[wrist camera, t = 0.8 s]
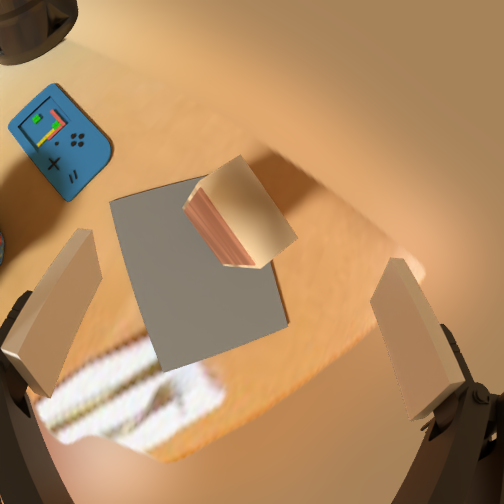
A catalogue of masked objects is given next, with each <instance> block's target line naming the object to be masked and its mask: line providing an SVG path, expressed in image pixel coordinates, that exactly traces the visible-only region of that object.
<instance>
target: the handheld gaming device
mask: <svg viewBox="0 0 504 504" xmlns="http://www.w3.org/2000/svg"><path fill="white" fill-rule="evenodd" d="M8 129H9V131H10V132H11V133H12V135H13V136H14V137H15V139H16V140H17V141H18V143H19V144H20V145H21V147H22V148H23V149H24V151H25V152H26V153H27V154H28V156H29V157H30V158H31V160H32V161H33V162H34V163H35V165H36V166H37V167H38V168H39V170H40V171H41V172H42V173H43V174H44V176H45V177H46V178H47V179H48V180H49V182H50V183H51V184H52V185H53V186H54V188H55V189H56V190H57V191H58V192H59V193H60V195H61V196H62V197H63V198H64V199H65V200H66V201H68V202H69V201H71V200H73V198H74V197H75V196H76V195H77V194H78V193H79V192H80V191H81V190H82V189H83V188H84V187H85V186H86V185H87V184H88V183H89V182H90V181H91V180H92V179H93V178H94V177H95V176H96V175H97V174H98V173H99V172H100V171H101V170H102V169H103V168H104V167H105V166H106V165H107V163H108V161H109V159H110V157H111V146H110V143H109V141H108V140H107V138H106V137H105V136H104V135H103V134H102V133H101V132H100V131H99V130H98V129H97V128H96V127H95V126H94V125H93V124H92V123H91V122H90V121H89V120H88V118H87V117H86V116H85V115H84V114H83V113H82V112H81V111H80V110H79V109H78V108H77V107H76V106H75V105H74V104H73V103H72V102H71V100H70V99H69V98H68V97H67V96H66V95H65V94H64V93H63V92H62V91H61V90H60V89H59V88H58V87H57V85H56V84H50V85H49V86H47V87H46V88H45V89H44V90H43V91H42V92H41V93H39V94H38V95H37V96H36V97H35V98H34V99H33V100H32V101H31V102H30V103H29V104H27V105H26V106H25V107H24V108H23V109H22V110H21V111H20V112H19V113H18V114H17V115H16V116H15V117H14V118H13V119H12V120H11V121H10V123H9V125H8Z"/></svg>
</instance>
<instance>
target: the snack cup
mask: <svg viewBox="0 0 504 504" xmlns="http://www.w3.org/2000/svg"><path fill="white" fill-rule="evenodd" d="M4 246H5V245H4V239H3V236H2V233H1V231H0V265H1V263H2V259H3V253H4Z"/></svg>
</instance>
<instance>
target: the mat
mask: <svg viewBox="0 0 504 504" xmlns="http://www.w3.org/2000/svg"><path fill="white" fill-rule="evenodd" d="M204 177H206V176H204ZM204 177H200V178H195V179H191V180H187V181H183V182H179V183H175V184H171V185H168V186H164V187H160V188H156V189H153V190H149V191H145V192H142V193H138V194H135V195H131V196H128V197H124V198H121V199H118V200H114V201H111V202H109V203H110V207H111V212H112V216H113V220H114V224H115V228H116V232H117V236H118V240H119V243H120V247H121V251H122V254H123V258H124V261H125V265H126V268H127V271H128V275H129V278H130V281H131V284H132V288H133V291H134V294H135V297H136V300H137V303H138V306H139V309H140V312H141V315H142V317H143V320H144V323H145V326H146V329H147V331H148V334H149V337H150V339H151V342H152V345H153V347H154V350H155V352H156V355H157V358H158V360H159V363H160V365H161V367H162V370H163V372H167V371H171V370H174V369H177V368H180V367H183V366H186V365H189V364H191V363H194V362H197V361H200V360H203V359H206V358H209V357H211V356H214V355H217V354H220V353H222V352H225V351H228V350H231V349H233V348H236V347H238V346H241V345H244V344H246V343H249V342H251V341H254V340H257V339H259V338H262V337H264V336H267V335H269V334H272V333H274V332H276V331H279V330H281V329H284V328H286V327H288V324H287V320H286V317H285V313H284V310H283V306H282V302H281V299H280V295H279V292H278V288H277V284H276V281H275V277H274V274H273V270H272V267H271V263H270V262H268V263H267V264H266V265H265V266H263V267H262V268H261V269H259V268H244V267H230V266H223V264H221V263H220V262H219V260H218V259H217V257H216V256H215V255H214V253H213V252H212V251H211V249H210V248H209V246H208V245H207V244H206V242H205V241H204V240H203V238H202V237H201V235H200V234H199V233H198V231H197V230H196V228H195V227H194V226H193V224H192V223H191V221H190V220H189V219H188V217H187V216H186V214H185V213H184V212H183V211H184V210H183V209H182V207H183V206H184V204H185V202H186V201H187V199H188V198H189V196H190V194H191V193H192V191H193V189H194V188H195V186H196V185H197V183H198V182H199V181H200V180H201V179H203V178H204Z"/></svg>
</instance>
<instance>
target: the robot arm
mask: <svg viewBox="0 0 504 504" xmlns="http://www.w3.org/2000/svg"><path fill="white" fill-rule="evenodd" d="M77 17H78V6H77V1H76V0H0V64H2V65H17V64H21V63H24V62H27V61H30V60H32V59H34V58H37V57H38V56H40V55H42V54H44V53H45V52H47V51H48V50H50V49H51V48H53V47H54V46H55V45H57V44H58V43H59V42H60V41H61V40H62V39H63V38H64V37H65V36H66V35H67V34H68V33H69V31H70V30H71V29H72V27H73V26H74V24H75V22H76V20H77ZM101 280H102V274H101V270H100V266H99V261H98V257H97V252H96V247H95V242H94V237H93V232H92V230H88V229H77V230H76V231H75V233H74V234H73V235H72V237H71V238H70V239H69V241H68V242H67V243H66V245H65V246H64V247H63V249H62V250H61V251H60V253H59V254H58V255H57V257H56V258H55V260H54V261H53V263H52V264H51V265H50V267H49V268H48V270H47V271H46V273H45V274H44V276H43V277H42V279H41V280H40V282H39V283H38V285H37V286H36V288H35V289H34V291H28V290H27V291H26V292H25V293H24V294H23V295H21V296H20V297H19V298H18V299H17V301H16V303H15V304H14V306H13V307H12V311H10V312H9V314H8V316H7V319H5V321H4V322H3V324H2V326H1V328H0V495H1V498H2V500H3V502H4V504H74V502H73V500H72V499H71V497H70V495H69V493H68V491H67V489H66V487H65V485H64V484H63V482H62V480H61V478H60V476H59V473H58V471H57V469H56V467H55V465H54V463H53V461H52V458H51V456H50V454H49V452H48V449H47V447H46V444H45V442H44V439H43V437H42V434H41V432H40V429H39V426H38V424H37V421H36V418H35V415H34V412H33V409H32V406H31V403H30V400H29V397H28V395H27V393H26V389H27V386H29V387H30V388H31V389H32V390H33V392H34V393H36V394H39V395H42V396H45V397H48V398H51V396H52V393H53V391H54V388H55V385H56V382H57V380H58V377H59V374H60V372H61V369H62V367H63V364H64V362H65V359H66V357H67V354H68V352H69V349H70V347H71V345H72V342H73V340H74V338H75V335H76V333H77V331H78V329H79V326H80V324H81V322H82V320H83V318H84V315H85V313H86V311H87V309H88V307H89V305H90V303H91V301H92V299H93V297H94V294H95V292H96V290H97V288H98V286H99V284H100V282H101ZM370 303H371V306H372V308H373V311H374V314H375V316H376V319H377V322H378V325H379V327H380V330H381V333H382V336H383V339H384V341H385V344H386V347H387V350H388V353H389V356H390V359H391V362H392V365H393V368H394V371H395V374H396V378H397V381H398V384H399V387H400V390H401V394H402V397H403V401H404V404H405V407H406V411H407V415H408V418H409V421H413V420H418V419H423V418H425V417H426V416H428V415H429V414H430V413H431V412H432V411H433V413H434V416H435V417H434V418H432V419H431V420H430V421H429V422H428V423H426V424H425V425H424V426H423V427H422V428H421V431H423V430H424V429H426V428H427V427H428V426H429V427H428V429H427V431H426V432H425V433H426V434H425V437H424V439H423V442H422V444H421V446H420V448H419V450H418V453H417V455H416V457H415V459H414V461H413V463H412V466H411V468H410V470H409V472H408V474H407V476H406V478H405V480H404V482H403V483H402V485H401V487H400V489H399V491H398V493H397V494H396V496H395V498H394V500H393V501H392V503H391V504H504V393H502V394H501V395H496V394H490V393H489V391H488V389H487V388H486V387H485V386H484V385H483V384H481V383H478V382H477V383H475V382H474V380H473V378H472V376H471V373H470V371H469V369H468V367H467V364H466V362H465V360H464V358H463V356H462V353H460V349H459V347H458V345H456V341H455V339H454V337H453V335H452V333H451V332H450V331H449V330H448V328H447V327H446V326H445V325H444V324H439V322H438V320H437V318H436V316H435V314H434V312H433V310H432V308H431V306H430V305H429V303H428V301H427V299H426V297H425V295H424V293H423V292H422V290H421V288H420V286H419V284H418V283H417V281H416V279H415V277H414V276H413V274H412V272H411V270H410V269H409V267H408V265H407V264H406V262H405V260H404V259H398V258H390V259H389V262H388V264H387V266H386V268H385V271H384V273H383V275H382V277H381V279H380V281H379V284H378V286H377V288H376V290H375V292H374V294H373V296H372V298H371V300H370ZM496 432H497V438H496V439H495V440H493V441H492V437H491V436H492V435H493V434H494V433H496ZM1 498H0V504H2V502H1Z"/></svg>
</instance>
